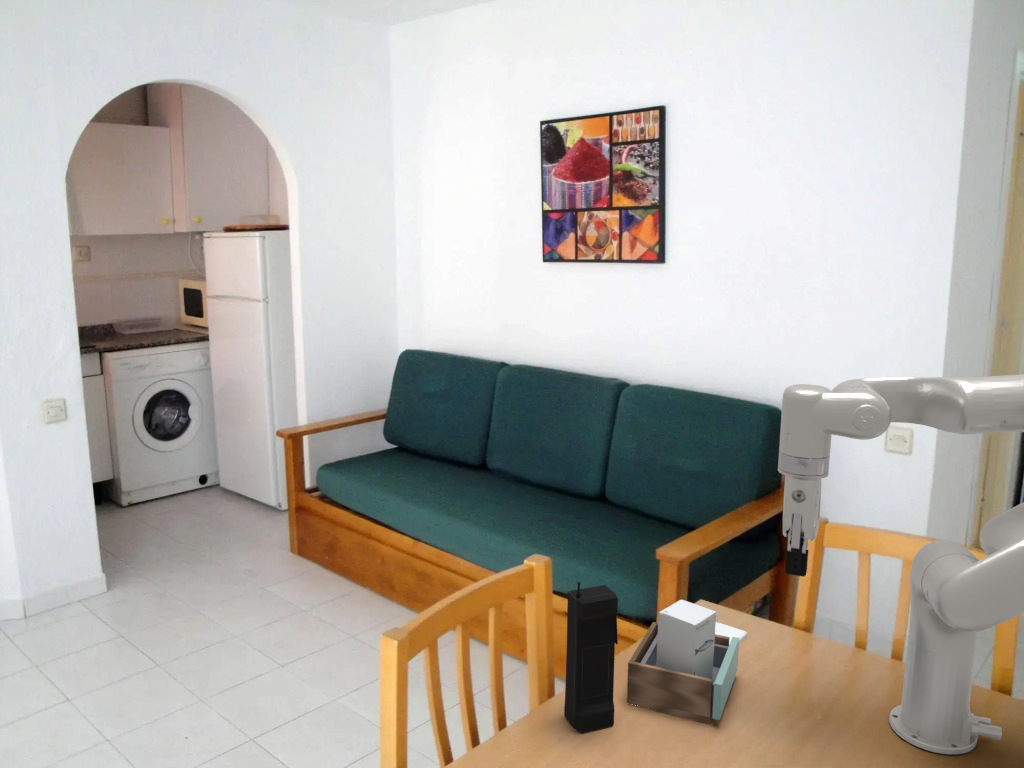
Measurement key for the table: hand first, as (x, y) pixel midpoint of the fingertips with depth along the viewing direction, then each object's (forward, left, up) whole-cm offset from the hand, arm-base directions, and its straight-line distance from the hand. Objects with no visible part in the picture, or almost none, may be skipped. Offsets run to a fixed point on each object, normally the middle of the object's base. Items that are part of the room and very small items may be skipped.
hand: (795, 573), depth 131 cm
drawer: (+16, 0, -24) cm, 29 cm away
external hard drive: (+16, -20, -26) cm, 36 cm away
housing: (+18, 0, -25) cm, 31 cm away
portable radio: (+29, +15, -25) cm, 41 cm away
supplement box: (+17, 0, -23) cm, 29 cm away
